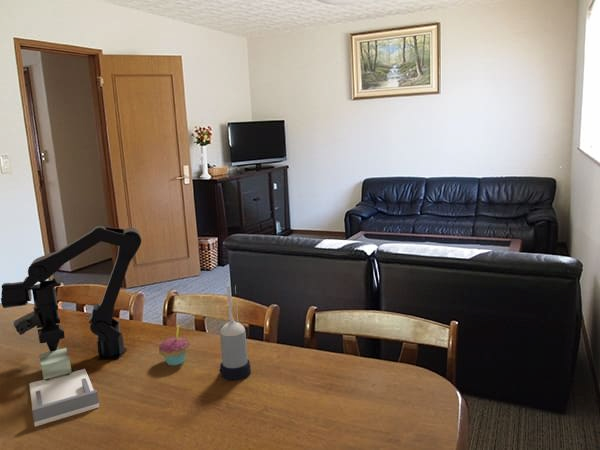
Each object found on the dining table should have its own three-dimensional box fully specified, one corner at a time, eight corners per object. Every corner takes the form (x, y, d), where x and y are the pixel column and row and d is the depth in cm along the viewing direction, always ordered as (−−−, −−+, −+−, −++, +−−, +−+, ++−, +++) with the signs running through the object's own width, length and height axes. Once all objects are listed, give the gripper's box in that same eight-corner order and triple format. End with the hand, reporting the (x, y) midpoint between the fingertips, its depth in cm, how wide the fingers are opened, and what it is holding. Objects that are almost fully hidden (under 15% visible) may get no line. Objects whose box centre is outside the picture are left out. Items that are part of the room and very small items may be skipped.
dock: (29, 386, 134) (27, 369, 134) (85, 372, 141) (83, 355, 140) (35, 430, 114) (32, 410, 113) (99, 410, 121) (97, 392, 120)
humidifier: (217, 370, 137) (210, 283, 132) (246, 364, 140) (240, 278, 135) (223, 383, 130) (216, 292, 125) (254, 377, 132) (248, 287, 127)
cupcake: (194, 355, 147) (191, 316, 144) (185, 369, 138) (181, 328, 136) (166, 355, 148) (162, 317, 145) (155, 368, 139) (151, 328, 137)
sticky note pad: (41, 369, 142) (39, 354, 141) (68, 362, 145) (66, 347, 145) (43, 382, 134) (41, 365, 133) (71, 374, 138) (69, 358, 137)
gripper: (12, 299, 145) (20, 349, 148) (13, 319, 129) (22, 374, 132) (54, 291, 150) (61, 339, 153) (60, 309, 134) (68, 363, 137)
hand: (53, 353), depth 144 cm, fingers closed
